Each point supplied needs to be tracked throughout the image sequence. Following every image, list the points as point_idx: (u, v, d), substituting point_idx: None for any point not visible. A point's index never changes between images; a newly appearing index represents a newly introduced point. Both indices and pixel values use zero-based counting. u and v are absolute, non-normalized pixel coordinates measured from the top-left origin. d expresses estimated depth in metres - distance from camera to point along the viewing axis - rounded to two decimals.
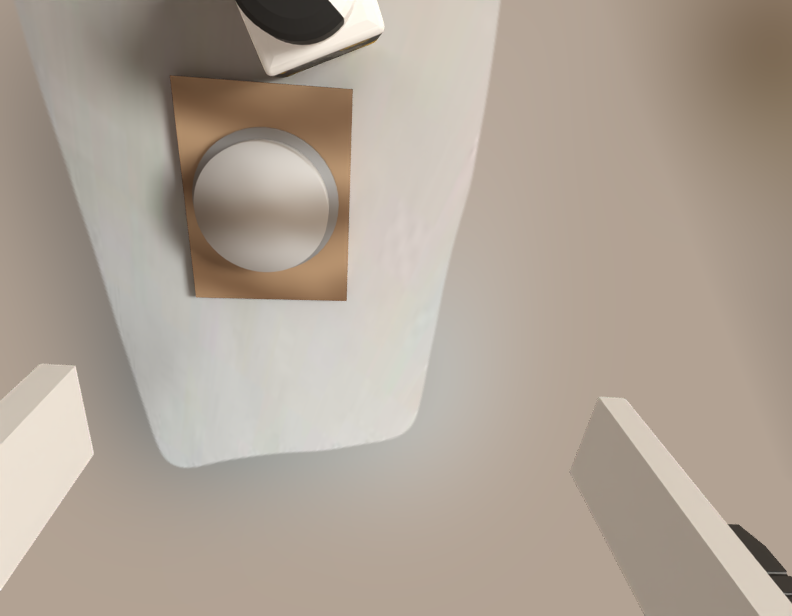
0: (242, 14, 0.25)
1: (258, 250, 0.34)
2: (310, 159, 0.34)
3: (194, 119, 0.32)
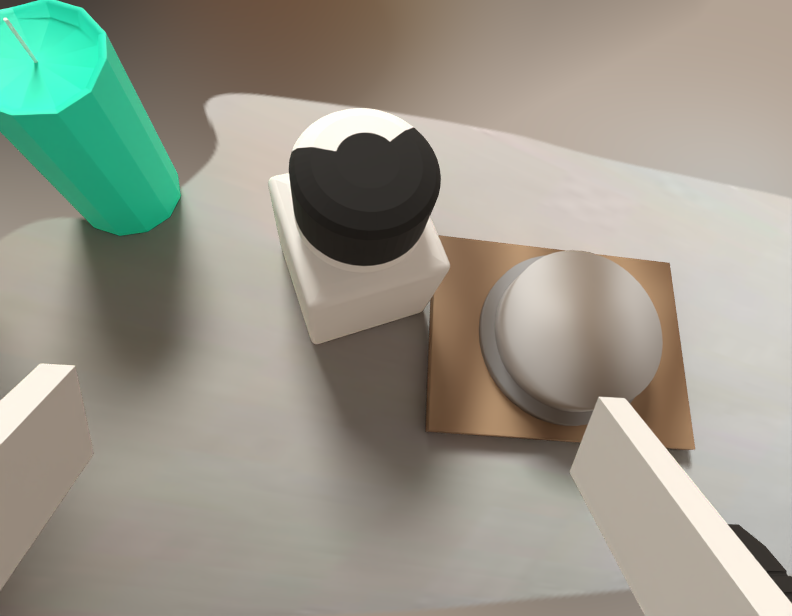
0: (390, 284, 0.22)
1: (635, 336, 0.26)
2: (513, 279, 0.29)
3: (475, 410, 0.27)
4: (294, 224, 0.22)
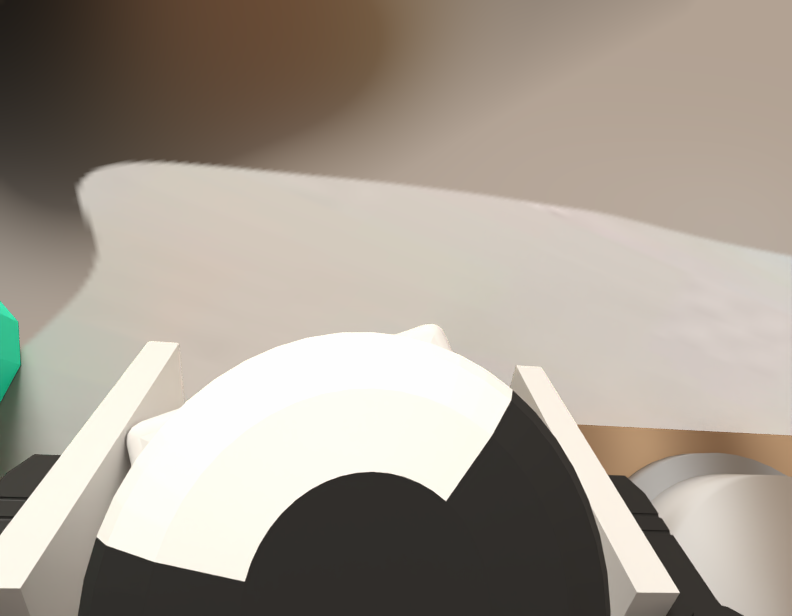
0: None
1: None
2: None
3: None
4: None
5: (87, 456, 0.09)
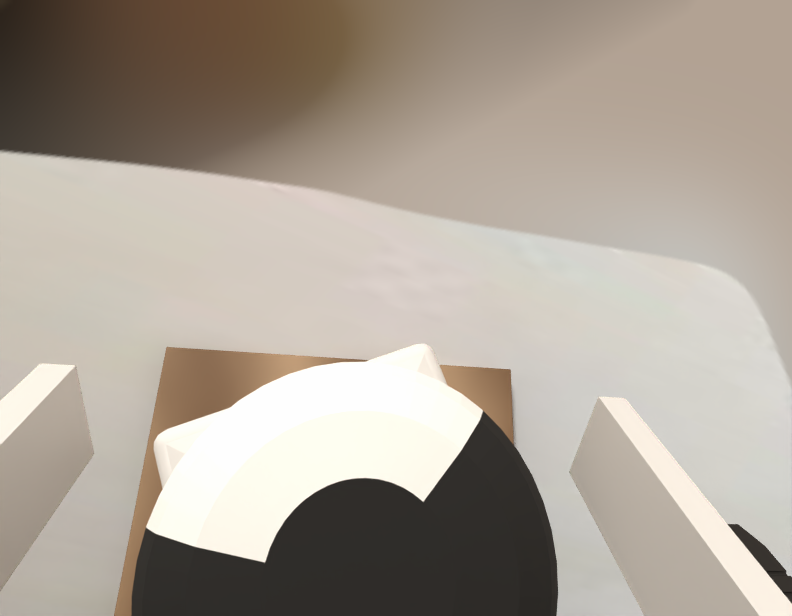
0: None
1: None
2: None
3: None
4: None
5: None
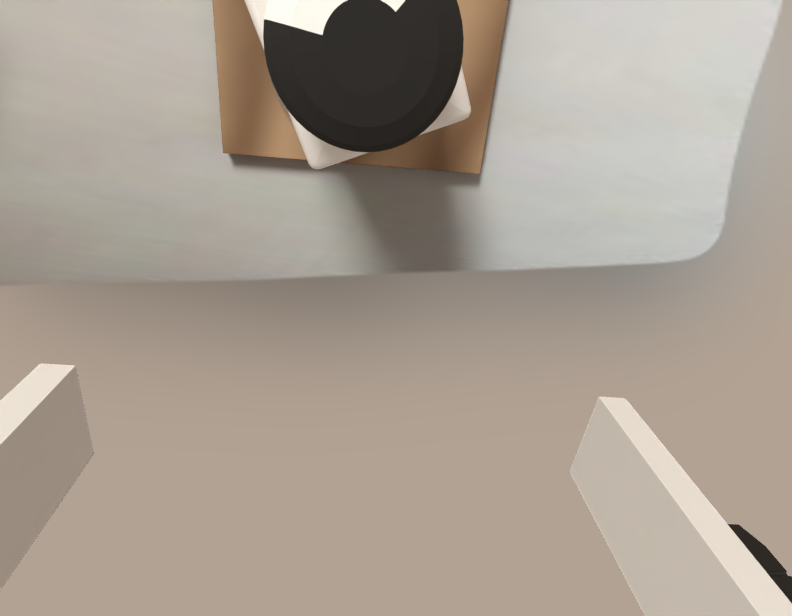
0: None
1: None
2: None
3: (266, 134, 0.28)
4: None
5: None
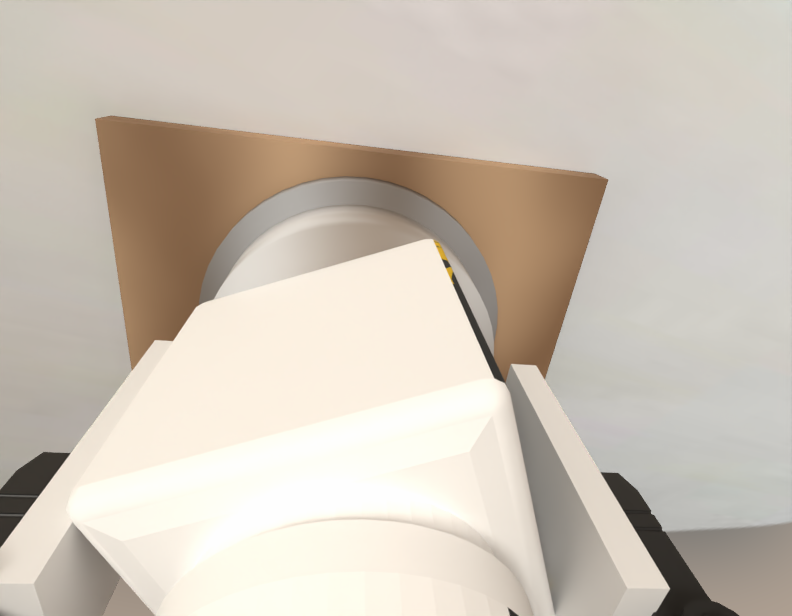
0: None
1: None
2: (255, 236, 0.15)
3: None
4: None
5: None
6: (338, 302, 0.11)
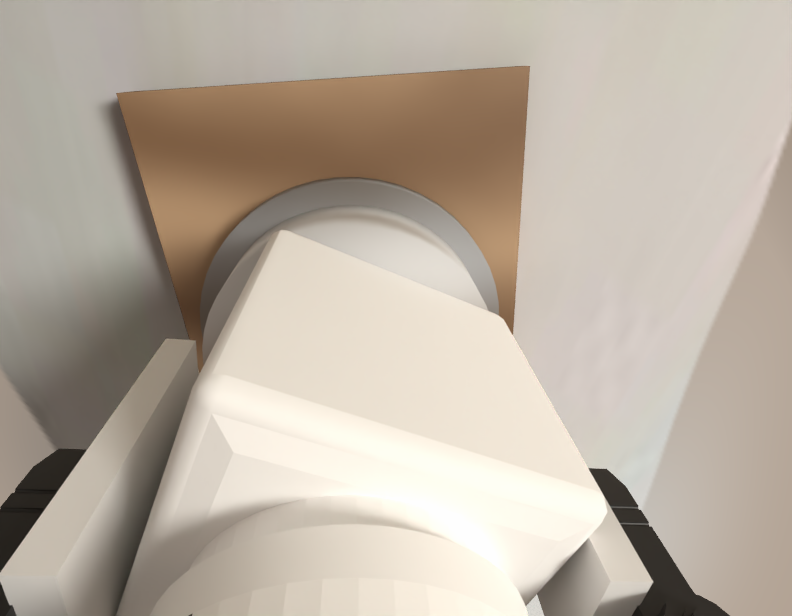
0: None
1: None
2: (441, 234, 0.15)
3: (185, 182, 0.15)
4: (180, 539, 0.07)
5: (113, 450, 0.09)
6: (440, 329, 0.11)
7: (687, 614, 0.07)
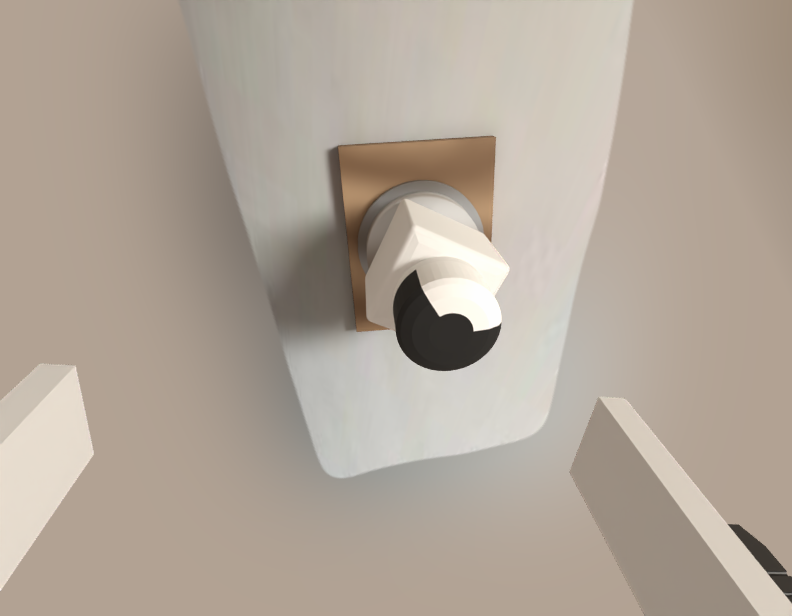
0: None
1: None
2: (460, 203, 0.37)
3: (358, 181, 0.37)
4: (400, 270, 0.29)
5: None
6: (462, 230, 0.33)
7: None
